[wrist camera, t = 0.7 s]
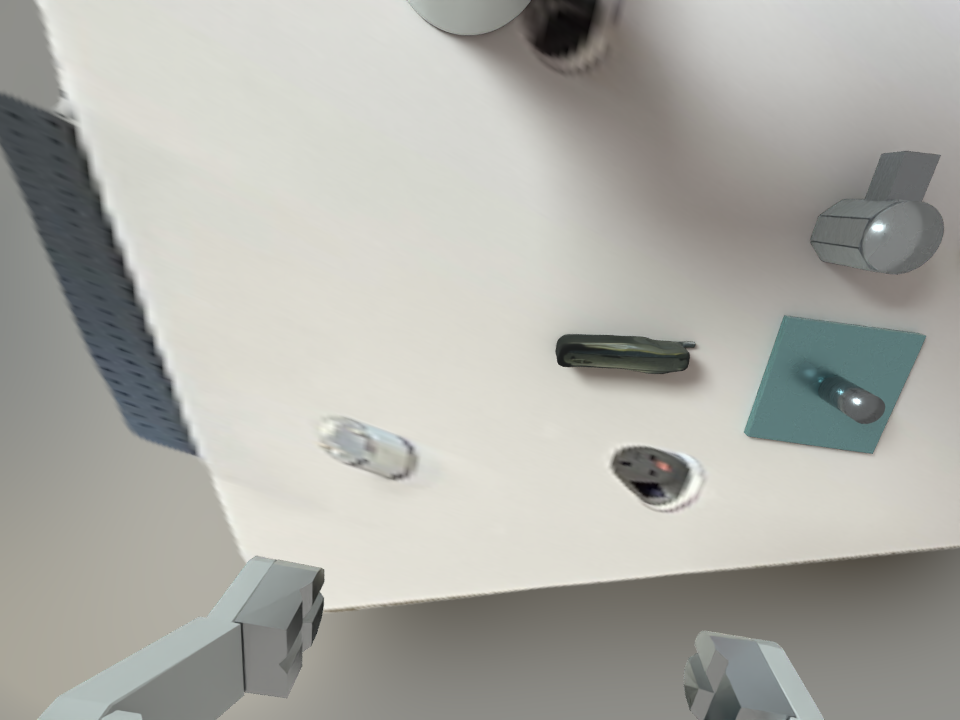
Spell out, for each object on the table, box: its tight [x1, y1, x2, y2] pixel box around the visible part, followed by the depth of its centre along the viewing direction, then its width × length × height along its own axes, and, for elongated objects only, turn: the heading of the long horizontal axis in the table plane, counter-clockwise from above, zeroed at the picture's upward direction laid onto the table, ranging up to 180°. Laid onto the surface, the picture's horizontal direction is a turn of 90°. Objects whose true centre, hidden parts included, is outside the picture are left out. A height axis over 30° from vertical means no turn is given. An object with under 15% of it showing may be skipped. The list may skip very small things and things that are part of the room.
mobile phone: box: [556, 334, 695, 374], centre depth 50 cm, size 5×3×15 cm
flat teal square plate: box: [744, 316, 926, 454], centre depth 49 cm, size 14×14×6 cm
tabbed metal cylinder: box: [811, 151, 944, 275], centre depth 43 cm, size 10×6×8 cm, turn 173°
